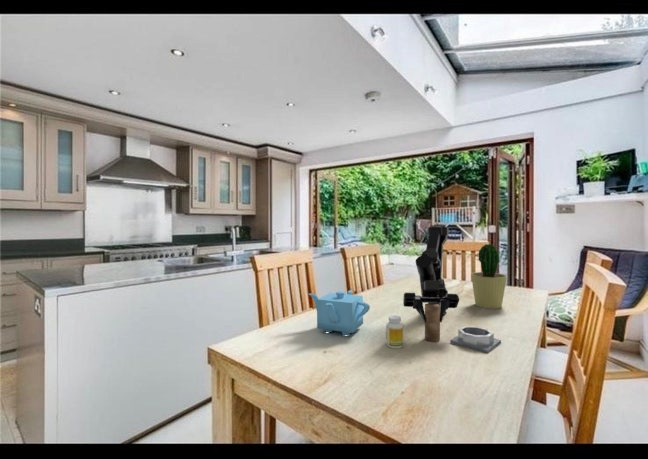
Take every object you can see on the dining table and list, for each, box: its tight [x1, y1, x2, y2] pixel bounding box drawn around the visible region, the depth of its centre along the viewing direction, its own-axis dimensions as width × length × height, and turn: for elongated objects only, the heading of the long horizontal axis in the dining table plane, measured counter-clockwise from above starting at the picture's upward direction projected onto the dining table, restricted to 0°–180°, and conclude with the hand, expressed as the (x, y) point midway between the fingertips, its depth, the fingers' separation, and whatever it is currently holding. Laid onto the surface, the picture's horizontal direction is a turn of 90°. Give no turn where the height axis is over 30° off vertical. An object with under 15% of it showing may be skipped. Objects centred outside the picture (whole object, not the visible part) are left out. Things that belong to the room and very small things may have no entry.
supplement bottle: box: [385, 315, 404, 349], centre depth 111 cm, size 5×5×10 cm
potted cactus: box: [470, 243, 508, 310], centre depth 160 cm, size 15×15×30 cm
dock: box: [449, 325, 502, 354], centre depth 113 cm, size 12×12×4 cm
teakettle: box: [308, 289, 371, 335], centre depth 127 cm, size 19×19×15 cm
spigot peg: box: [424, 303, 441, 343], centre depth 116 cm, size 5×5×12 cm
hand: (433, 321), depth 115 cm, fingers closed on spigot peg, 5 cm apart
